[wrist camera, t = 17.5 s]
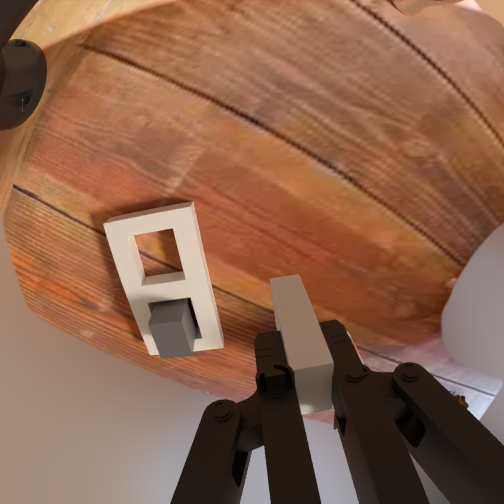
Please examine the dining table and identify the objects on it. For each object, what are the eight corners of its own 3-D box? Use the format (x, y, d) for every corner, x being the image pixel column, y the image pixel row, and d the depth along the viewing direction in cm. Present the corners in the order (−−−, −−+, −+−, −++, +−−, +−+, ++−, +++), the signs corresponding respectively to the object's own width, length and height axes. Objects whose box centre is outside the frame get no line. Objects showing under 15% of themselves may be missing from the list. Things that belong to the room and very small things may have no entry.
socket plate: (153, 344, 54) (150, 355, 51) (110, 217, 44) (103, 223, 41) (223, 336, 54) (223, 347, 51) (193, 200, 44) (190, 206, 41)
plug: (168, 327, 52) (161, 358, 45) (158, 295, 50) (147, 324, 42) (196, 324, 52) (192, 355, 45) (187, 291, 50) (181, 321, 42)
